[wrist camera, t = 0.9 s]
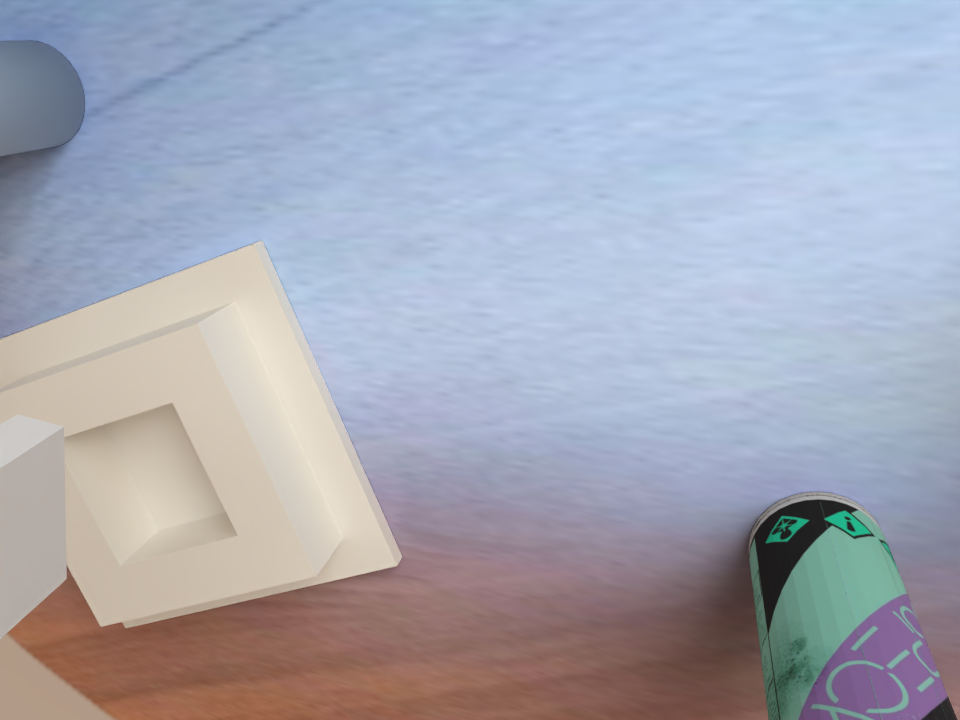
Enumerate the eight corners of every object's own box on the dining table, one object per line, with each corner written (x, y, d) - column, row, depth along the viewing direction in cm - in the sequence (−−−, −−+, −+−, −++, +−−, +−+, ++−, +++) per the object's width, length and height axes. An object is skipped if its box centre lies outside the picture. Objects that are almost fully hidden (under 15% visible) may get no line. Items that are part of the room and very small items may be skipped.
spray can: (894, 597, 38) (1091, 1130, 19) (760, 611, 39) (825, 1117, 21) (875, 481, 36) (1070, 941, 18) (737, 500, 38) (784, 941, 19)
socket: (-15, 344, 43) (-80, 372, 40) (262, 240, 38) (217, 261, 35) (134, 619, 47) (87, 668, 44) (402, 556, 42) (375, 606, 39)
